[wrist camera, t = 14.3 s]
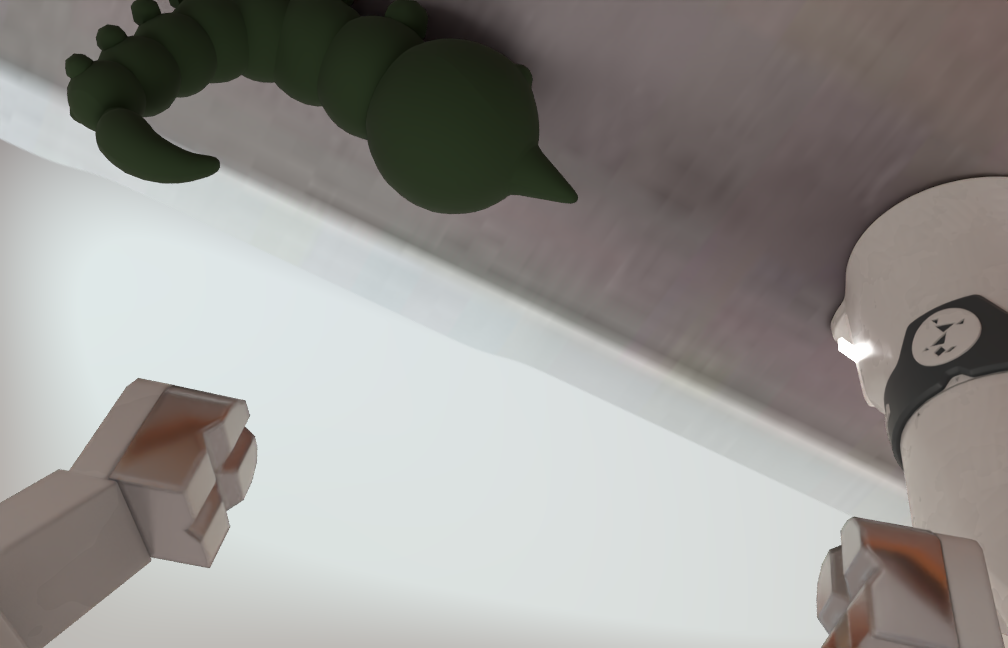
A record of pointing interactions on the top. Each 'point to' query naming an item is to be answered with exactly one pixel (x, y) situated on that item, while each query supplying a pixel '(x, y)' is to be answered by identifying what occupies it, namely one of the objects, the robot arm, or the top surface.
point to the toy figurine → (325, 94)
